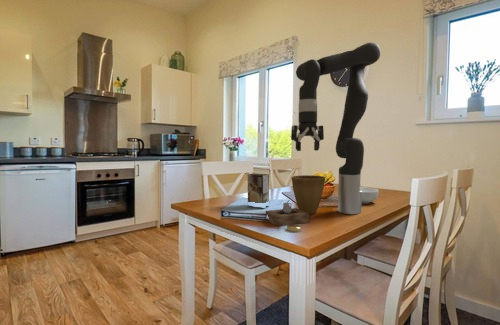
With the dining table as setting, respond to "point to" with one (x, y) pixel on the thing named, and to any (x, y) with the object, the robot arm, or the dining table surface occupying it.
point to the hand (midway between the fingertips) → (307, 150)
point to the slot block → (287, 217)
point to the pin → (286, 208)
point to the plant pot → (308, 192)
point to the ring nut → (294, 228)
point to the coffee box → (258, 188)
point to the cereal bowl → (368, 194)
